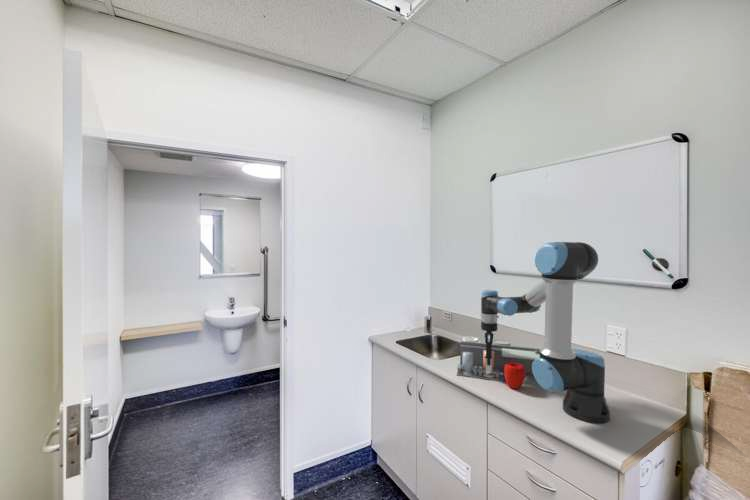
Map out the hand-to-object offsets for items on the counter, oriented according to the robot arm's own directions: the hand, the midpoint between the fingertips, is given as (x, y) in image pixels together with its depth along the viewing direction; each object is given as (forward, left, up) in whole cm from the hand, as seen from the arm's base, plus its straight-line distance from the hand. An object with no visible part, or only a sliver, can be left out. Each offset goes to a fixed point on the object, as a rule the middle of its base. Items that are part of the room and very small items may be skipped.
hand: (488, 369), depth 159 cm
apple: (-10, -11, -3) cm, 15 cm away
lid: (+3, -15, +8) cm, 17 cm away
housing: (+3, -5, -3) cm, 7 cm away
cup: (+29, +9, -3) cm, 30 cm away
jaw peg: (0, 0, 0) cm, 0 cm away
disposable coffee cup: (+20, -6, -3) cm, 21 cm away
